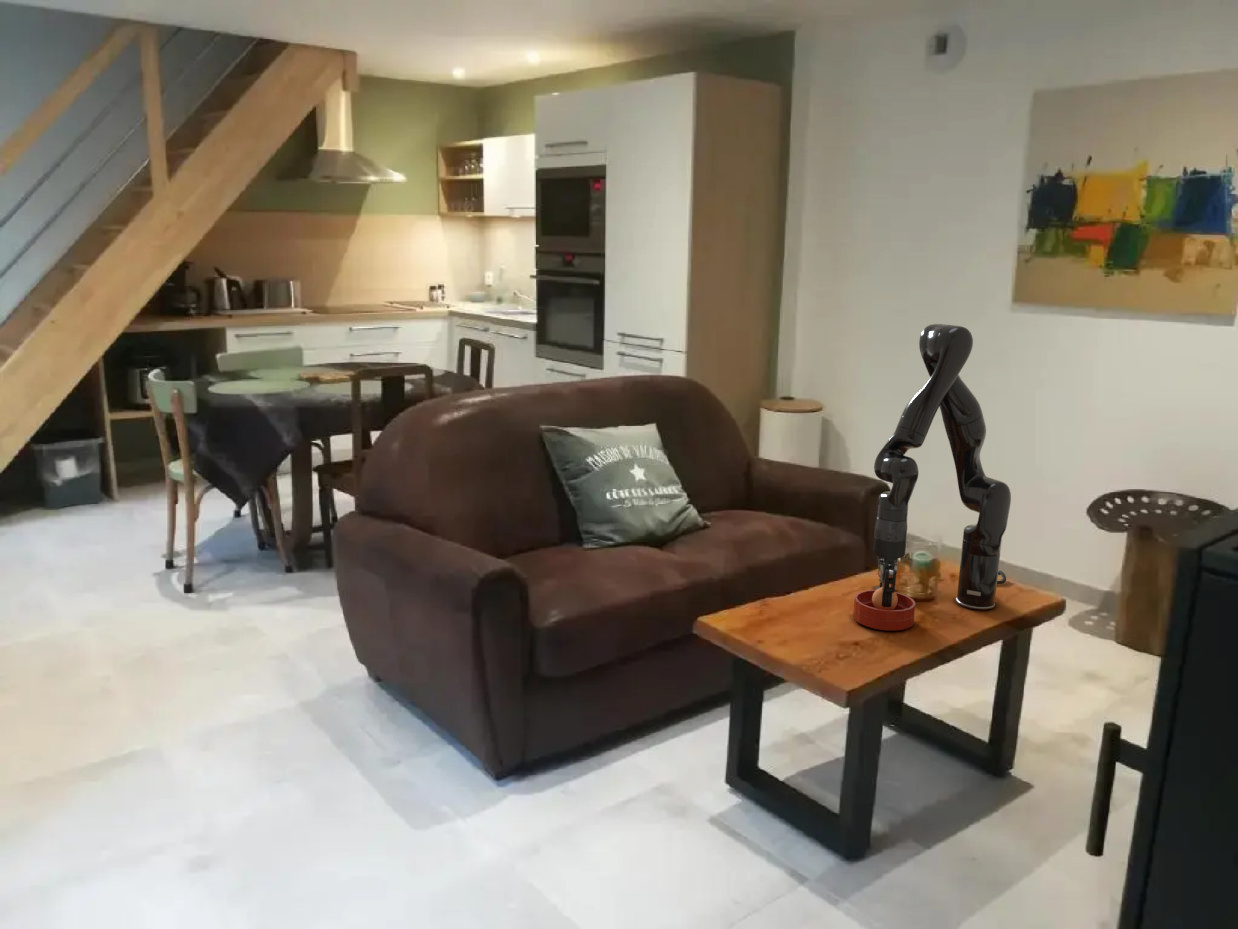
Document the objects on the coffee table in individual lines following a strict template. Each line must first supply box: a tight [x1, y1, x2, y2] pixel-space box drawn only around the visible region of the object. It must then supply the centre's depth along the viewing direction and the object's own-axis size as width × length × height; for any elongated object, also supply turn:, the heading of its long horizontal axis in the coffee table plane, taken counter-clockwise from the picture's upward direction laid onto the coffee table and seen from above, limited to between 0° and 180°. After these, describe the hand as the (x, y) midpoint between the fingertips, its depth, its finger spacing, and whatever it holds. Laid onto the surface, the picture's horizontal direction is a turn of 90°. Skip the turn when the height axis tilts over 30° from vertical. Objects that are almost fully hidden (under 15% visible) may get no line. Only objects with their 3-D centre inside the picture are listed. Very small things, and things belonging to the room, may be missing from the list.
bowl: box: [852, 589, 916, 632], centre depth 236 cm, size 14×14×6 cm
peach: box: [872, 585, 898, 610], centre depth 236 cm, size 6×6×7 cm
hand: (884, 601), depth 236 cm, fingers closed on peach, 6 cm apart
